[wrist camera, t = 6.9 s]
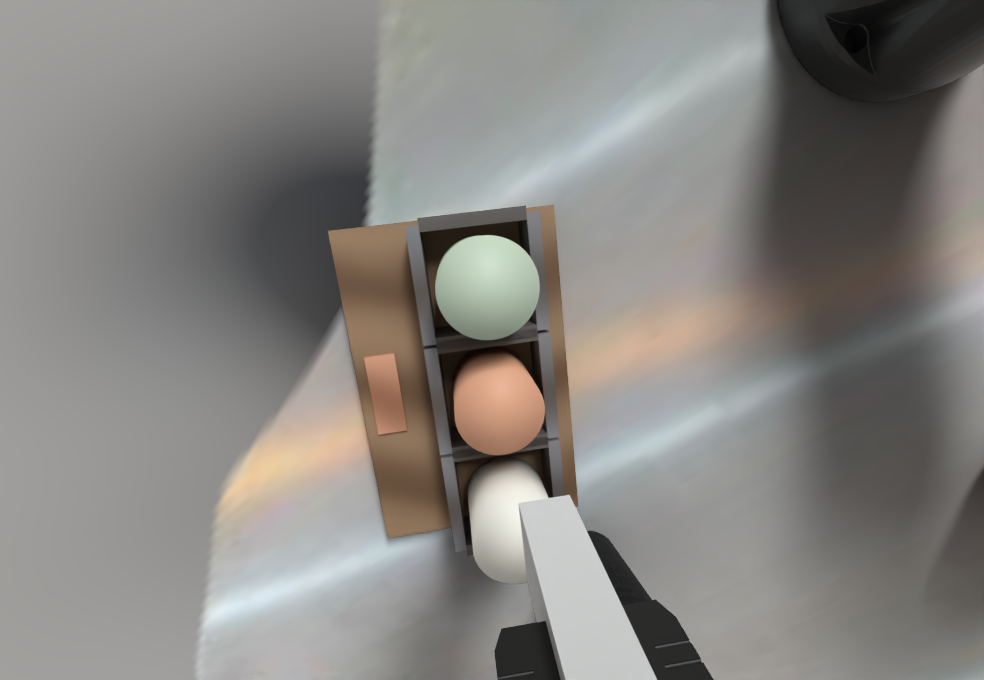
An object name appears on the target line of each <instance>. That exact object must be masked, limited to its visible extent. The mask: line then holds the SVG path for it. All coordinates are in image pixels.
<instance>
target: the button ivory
mask: <svg viewBox="0 0 984 680" xmlns="http://www.w3.org/2000/svg"><path fill="white" fill-rule="evenodd" d="M546 498H548V495H547V493H546V490H545V488H544V485H543V483H542V480H541V478H540V476H539V474H538V472H537V470H536V469H535V468H534V467H533V466H532V465H531V464H530V463H528V462H527V461H525V460H523V459H520V458H517V457H510V456H505V457H498V458H495V459H492V460H490V461H488V462H486V463H484V464H483V465H482V466H480V467H479V468H478V469H477V470H476V471H475V473H474V474H473V476H472V478H471V480H470V482H469V486H468V503H469V514H470V524H471V535H472V546H473V554H474V558H475V561H476V563H477V565H478V567H479V568H480V569H481V570H482V572H483V573H485V574H486V575H487V576H488V577H490V578H492V579H494V580H496V581H498V582H502V583H506V584H521V583H526V582H527V574H526V565H525V557H524V548H523V539H522V530H521V522H520V513H519V504H518V503H522V502H528V501H534V500H540V499H546Z"/></svg>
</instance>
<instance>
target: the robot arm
mask: <svg viewBox="0 0 984 680" xmlns="http://www.w3.org/2000/svg"><path fill="white" fill-rule="evenodd" d="M778 5H779V10H780V15H781V19H782V23H783V26H784V29H785V32H786V35H787V37H788V39H789V42H790V44H791V46H792V48H793V50H794V52H795V53H796V55H797V57H798V58H799V60H800V61H801V63H802V64H803V65H804V67H805V68H806V69H807V70H808V71H809V72H810V74H811V75H813V76H814V77H815V78H816V79H817V80H818V81H819V82H820V83H822V84H823V85H824V86H826V87H827V88H829V89H830V90H832V91H834V92H836V93H838V94H840V95H842V96H845V97H848V98H851V99H854V100H859V101H865V102H887V101H894V100H898V99H902V98H906V97H909V96H912V95H915V94H919V93H922V92H925V91H928V90H932V89H935V88H938V87H941V86H943V85H946V84H948V83H951V82H953V81H955V80H957V79H959V78H961V77H963V76H965V75H967V74H968V73H970V72H972V71H974V70H975V69H977V68H978V67H980V66H982V65H983V64H984V0H778ZM518 504H519V513H520V522H521V530H522V539H523V548H524V557H525V565H526V574H527V583H528V587H529V592H530V596H531V600H532V604H533V609H534V613H535V617H536V622H537V623H531V624H525V625H520V626H514V627H509V628H503V629H501V632H500V635H499V638H498V642H497V645H496V648H495V660H496V669H497V677H498V680H713V678H712V677H711V675H710V673H709V672H708V670H707V668H706V667H705V665H704V663H702V662H701V659H700V657H699V655H698V653H697V652H696V650H695V648H694V647H693V645H692V644H690V641H689V638H688V637H687V635H686V633H685V632H684V630H683V628H682V627H681V625H680V623H679V622H678V620H677V618H676V617H675V616H674V615H673V614H672V613H671V612H669V611H668V610H667V609H666V608H665V607H664V606H662V605H661V604H660V603H659V602H658V601H657V600H651V601H645V602H640V603H634V604H628V605H623V606H622V605H621V602H620V600H619V598H618V596H617V594H616V592H615V590H614V588H613V585H612V583H611V581H610V579H609V577H608V575H607V573H606V571H605V569H604V566H603V564H602V562H601V560H600V558H599V556H598V554H597V552H596V550H595V547H594V545H593V543H592V541H591V539H590V537H589V535H588V533H587V531H586V528H585V526H584V524H583V522H582V520H581V518H580V516H579V514H578V512H577V509H576V507H575V505H574V503H573V501H572V499H571V497H570V495H565V496H559V497H553V498H546V499H540V500H534V501H528V502H522V503H518Z"/></svg>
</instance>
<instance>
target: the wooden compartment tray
mask: <svg viewBox="0 0 984 680" xmlns="http://www.w3.org/2000/svg"><path fill="white" fill-rule="evenodd" d="M417 219H418V221H411V222H403V223H394V224H386V225H377V226H368V227H360V228H351V229H342V230H334V231H328V233H329V239H330V244H331V249H332V254H333V259H334V264H335V269H336V275H337V279H338V285H339V289H340V295H341V300H342V305H343V311H344V316H345V321H346V326H347V331H348V336H349V341H350V347H351V352H352V357H353V362H354V367H355V372H356V377H357V382H358V388H359V393H360V398H361V403H362V408H363V413H364V418H365V424H366V429H367V434H368V439H369V444H370V449H371V454H372V459H373V465H374V470H375V475H376V480H377V485H378V490H379V495H380V501H381V506H382V511H383V516H384V521H385V526H386V531H387V536H388V538H393V537H399V536H405V535H411V534H417V533H423V532H429V531H435V530H440V529H446V528H452V533H453V540H454V546H455V552H456V553H457V552H463V551H467V554H468V556H469V555H474V554H473V546H472V535H471V524H470V514H469V503H468V486H469V482H470V480H471V478H472V476H473V474H474V473H475V471H476V470H477V469H478V468H479V467H480V466H482V465H483V464H484V463H486V462H488V461H490V460H492V459H495V458H498V457H505V456H510V457H517V458H520V459H523V460H525V461H527V462H528V463H530V464H531V465H532V466H533V467H534V468H535V469H536V470H537V472H538V474H539V476H540V478H541V480H542V483H543V485H544V488H545V490H546V493H547V495H548V498H553V497H559V496H565V495H570V497H571V499H572V501H573V503H574V505H575V507H578V499H577V486H576V474H575V462H574V449H573V437H572V425H571V412H570V400H569V387H568V375H567V363H566V350H565V338H564V326H563V313H562V301H561V289H560V276H559V264H558V252H557V239H556V227H555V215H554V205H549V206H541V207H532V208H526V206H519V207H511V208H502V209H493V210H485V211H476V212H467V213H459V214H450V215H441V216H433V217H424V218H417ZM481 235H494V236H499V237H503V238H506V239H509V240H511V241H513V242H515V243H516V244H518V245H519V246H520V247H522V248H523V249H524V250H525V251H526V252H527V254H528V255H529V256H530V257H531V259H532V261H533V262H534V264H535V267H536V269H537V272H538V276H539V282H540V292H539V298H538V303H537V305H536V308H535V310H534V312H533V314H532V316H531V317H530V318H529V320H528V321H527V322H526V323H525V324H524V325H523V326H522V327H521V328H520V329H519V330H517V331H516V332H514V333H513V334H511V335H509V336H506V337H503V338H500V339H496V340H479V339H474V338H471V337H468V336H466V335H463V334H461V333H460V332H458V331H457V330H455V329H454V328H453V327H452V326H451V325H450V324H449V323H448V322H447V321H446V319H445V318H444V316H443V315H442V313H441V311H440V309H439V306H438V304H437V300H436V293H435V282H436V277H437V271H438V267H439V264H440V261H441V259H442V257H443V255H444V254H445V252H446V251H447V250H448V249H449V248H450V247H451V246H452V245H453V244H455V243H456V242H458V241H460V240H462V239H464V238H467V237H471V236H481ZM494 346H497V347H502V348H505V349H507V350H509V351H511V352H512V353H514V354H515V355H516V356H517V357H518V358H519V359H520V360H521V362H522V363H523V365H524V366H525V368H526V370H527V371H528V373H529V374H530V376H531V377H532V379H533V381H534V382H535V384H536V385H537V387H538V389H539V390H540V392H541V394H542V397H543V400H544V405H545V416H544V421H543V424H542V427H541V429H540V431H539V433H538V434H537V436H536V437H535V438H534V439H533V440H532V441H531V442H530V443H529V444H528V445H527V446H525V447H524V448H522V449H520V450H518V451H516V452H513V453H510V454H506V455H490V454H485V453H482V452H480V451H477V450H476V449H474V448H472V447H471V446H470V445H468V444H467V443H466V442H465V441H464V439H463V438H462V437H461V435H460V433H459V432H458V429H457V427H456V423H455V414H454V398H453V376H454V372H455V369H456V367H457V365H458V364H459V362H460V361H461V360H462V359H463V357H464V356H466V355H467V354H468V353H470V352H471V351H473V350H475V349H480V348H487V347H494Z"/></svg>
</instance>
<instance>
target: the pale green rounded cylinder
mask: <svg viewBox="0 0 984 680" xmlns="http://www.w3.org/2000/svg"><path fill="white" fill-rule="evenodd" d="M539 292H540V282H539V276H538V272H537V269H536V267H535V264H534V262H533V261H532V259H531V257H530V256H529V255H528V254H527V252H526V251H525V250H524V249H523V248H522V247H520V246H519V245H518V244H516V243H515V242H513V241H511V240H509V239H506V238H503V237H499V236H494V235H481V236H471V237H467V238H464V239H462V240H460V241H458V242H456V243H455V244H453V245H452V246H451V247H450V248H449V249H448V250H447V251H446V252H445V254H444V255H443V257H442V259H441V261H440V264H439V267H438V271H437V277H436V282H435V293H436V300H437V304H438V306H439V309H440V311H441V313H442V315H443V316H444V318H445V319H446V321H447V322H448V323H449V324H450V325H451V326H452V327H453V328H454V329H455V330H457V331H458V332H460V333H461V334H463V335H466V336H468V337H471V338H474V339H479V340H496V339H500V338H503V337H506V336H509V335H511V334H513V333H514V332H516V331H517V330H519V329H520V328H521V327H522V326H523V325H524V324H525V323H526V322H527V321H528V320H529V318H530V317H531V316H532V314H533V312H534V310H535V308H536V305H537V303H538V298H539Z"/></svg>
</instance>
